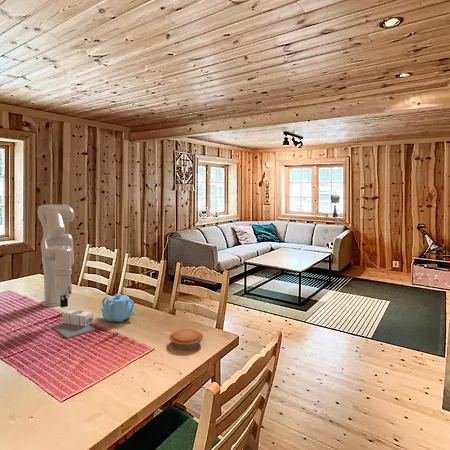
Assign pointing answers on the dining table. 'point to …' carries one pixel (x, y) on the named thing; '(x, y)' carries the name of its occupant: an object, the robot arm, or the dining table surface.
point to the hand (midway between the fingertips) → (64, 306)
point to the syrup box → (77, 317)
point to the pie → (186, 338)
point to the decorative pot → (117, 308)
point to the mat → (72, 329)
